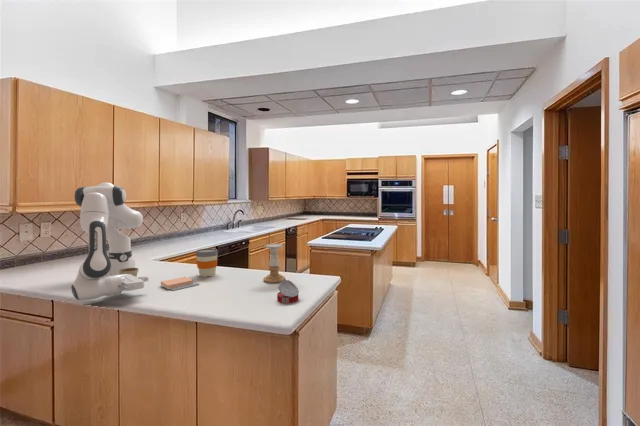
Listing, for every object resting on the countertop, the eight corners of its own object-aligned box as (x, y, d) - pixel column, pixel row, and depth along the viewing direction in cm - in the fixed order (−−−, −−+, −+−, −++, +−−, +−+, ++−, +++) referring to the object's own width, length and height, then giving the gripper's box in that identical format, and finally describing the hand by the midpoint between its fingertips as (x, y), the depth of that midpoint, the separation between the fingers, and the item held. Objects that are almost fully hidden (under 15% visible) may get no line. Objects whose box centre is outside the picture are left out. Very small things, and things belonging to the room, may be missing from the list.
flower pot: (143, 284, 172) (142, 268, 172) (125, 289, 164) (124, 272, 164) (133, 282, 177) (132, 266, 176) (115, 286, 169) (114, 270, 168)
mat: (160, 284, 172) (160, 283, 172) (186, 279, 182) (186, 278, 182) (172, 290, 161) (172, 289, 161) (199, 284, 171) (199, 283, 171)
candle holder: (261, 283, 173) (260, 246, 172) (265, 277, 186) (265, 243, 184) (283, 283, 173) (283, 246, 172) (286, 277, 185) (286, 243, 184)
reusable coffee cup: (214, 277, 185) (213, 252, 184) (192, 277, 185) (192, 252, 184) (221, 272, 198) (220, 248, 197) (201, 272, 198) (200, 248, 197)
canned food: (294, 306, 152) (304, 287, 153) (293, 311, 142) (303, 291, 143) (273, 295, 152) (283, 276, 152) (270, 300, 142) (281, 280, 142)
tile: (160, 281, 169) (184, 276, 178) (160, 285, 169) (185, 280, 178) (168, 285, 162) (193, 280, 171) (168, 289, 162) (193, 283, 172)
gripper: (122, 282, 142) (155, 276, 152) (109, 274, 156) (140, 269, 166) (122, 296, 142) (155, 288, 152) (109, 287, 156) (140, 281, 166)
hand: (147, 278), depth 159 cm, fingers closed
